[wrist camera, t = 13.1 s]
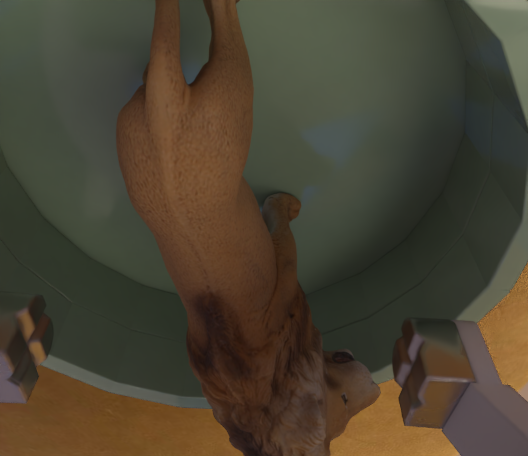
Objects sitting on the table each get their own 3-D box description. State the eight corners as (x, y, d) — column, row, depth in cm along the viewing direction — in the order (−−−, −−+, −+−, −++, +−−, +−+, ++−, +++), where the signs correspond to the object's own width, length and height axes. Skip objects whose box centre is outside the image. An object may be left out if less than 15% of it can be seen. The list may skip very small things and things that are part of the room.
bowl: (587, -149, 12) (758, -137, 8) (408, 312, 23) (438, 419, 19) (-133, -208, 12) (-367, -228, 7) (39, 293, 23) (-14, 399, 19)
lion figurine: (359, 266, 21) (404, 489, 14) (245, 296, 22) (233, 514, 15) (207, -134, 12) (117, -79, 5) (32, -44, 13) (-232, 100, 6)
